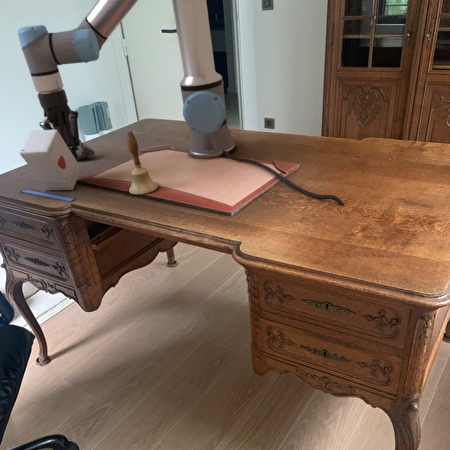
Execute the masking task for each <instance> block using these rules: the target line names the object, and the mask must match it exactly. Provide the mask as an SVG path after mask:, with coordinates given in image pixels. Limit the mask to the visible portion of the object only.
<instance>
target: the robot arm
mask: <svg viewBox="0 0 450 450" xmlns="http://www.w3.org/2000/svg"><path fill="white" fill-rule="evenodd" d="M138 1H139V0H97V1H96V2H95V4H94V5H93V6H92V8H91V9H90V11H89V12H88V13H87V15H85V17H84V19H83V20H82V21H81V22H80V23H79V25H78V26H77V27H75V28H72V29H70V30H64V31H57V32H49V30H48V29H47V27H46V26H45V25H44V24H36V25H29V26H23V27H19V29H18V30H17V36H18V39H19V43H20V48H21V51H22V53H23V57H24V59H25V63H26V64H27V68H28V70H29V74H30V77H31V79H32V82H33V86H34V89H35V92H37V99H38V101H39V104H40V107H41V108H42V110H43V117H44V118H43V120H42V121H40V122H39V124H38V125H39V127H41V128H42V130H57V131H58V132H59V134H60V135H61V137H62V139H63V140H64V142H65V143H66V145H67V146H68V148H69V150H70V151H71V153H72V154H73V156H74V157H75V159H76V161H77V162H78V161H79V160H78V156H77V153H76V151H77V150H78V148H77V147H78V146H80V141H79V139H80V131H79V121H78V119H79V111H77V110H73V109H71V107H70V106H69V104H68V103H69V99H68V96H67V93H66V89H64V82H63V79H62V76H61V74H60V69H59V66H63V65H71V64H83V63H85V64H87V63H90V62H96V61H98V60H99V58H100V51H101V50H102V47H103V46H104V44H105V43H106V42H107V41H108V39H109V38H110V37H111V35H112V34H113V32H114V31H115V30H116V29H117V27H118V26H119V25H120V24H121V23H122V22H123V20H124V19H125V17H126V16H127V15H128V14H129V13H130V12H131V10H132V9H133V8H134V6H135V5H136V4H137V2H138ZM171 4H172V9H173V10H172V11H173V16H174V22H175V29H176V35H177V39H178V41H177V42H178V47H179V53H180V59H181V64H182V70H183V71H182V72H183V77H182V78H181V80H180V82H179V86H180V93H181V100H182V103H183V106H182V116H183V119H184V121H185V123H186V125H187V126H188V128H190V129H191V131H190V132H191V133H190V139H189V145H188V151H189V153H188V154H189V156H190V157H192V158H195V159H203V160H204V159H207V160H208V159H217V158H222V157H225V156H227V157H228V158H229V159H231V160H232V161H235V162H242V163H247V164H252V165H254V166H257V167H259V168H262V169H264V170H266V171H267V172H269V173H271V174H272V175H274V176H275V177H276V178H278V179H279V180H281V181H282V182H283V183H284V184H286V185H287V186H289V187H290V188H292V189H294V190H296V191H297V192H299V193H302V194H303V195H306V196H308V197H309V198H310V197H311V198H314V199H317V200H332V201H334V202H336V204H338V206H340V207H343V206H345V204H344V203H343V201H342V200H341V199H340V197H338V196H336V195H334V194H318V193H314V192H312V191H309V190H307V189H304V188H302V187H300V186H298V185H296V184H295V183H293V182H291V181H290V180H289V179H287V178H286V177H285V176H283V175H282V174H280V173H279V172H278V171H276V170H274V169H273V168H272V167H269V166H267V164H263V163H261V162H259V161H257V160H252V159H250V158H243V157H238V156H234V155H232V154H231V153H233V152H234V151H235V150H236V143H235V141H234V139H233V137H232V134H231V131H230V128H229V126H228V121H227V120H228V119H227V109H226V108H227V107H226V99H225V89H224V85H225V84H224V80H223V76H222V75H221V74H220V73H218V72H217V71H216V66H215V60H214V59H215V58H214V52H213V43H212V36H211V28H210V21H209V11H208V5H207V0H171ZM81 171H82V170H81ZM81 171H80V173H81Z"/></svg>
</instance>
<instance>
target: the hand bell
mask: <svg viewBox="0 0 450 450" xmlns="http://www.w3.org/2000/svg"><path fill="white" fill-rule="evenodd" d="M126 143H127V147H128V149H129V152H130V154H131V156H132V159H133V165H134V169H133V170H132V171H131V185H130V187H129V189H128V191H129V192H128V193H129V194H130V195H134V196H135V195H136V196H140V195H141V196H142V195H147V194H150V193H152V192H154V191H156V190H157V189H158V187H159V185H158V183H157V182H155V181H154V180H153V179H152V178H151V176H150V174H149V171H148V169H147V168H146V167H143V166H142V164H141V161H140V156H139V144H138V141H137V138H136V136H135V134H134V133H133V131H132V130H129V131H127V133H126Z"/></svg>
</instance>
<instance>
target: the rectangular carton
mask: <svg viewBox="0 0 450 450" xmlns="http://www.w3.org/2000/svg"><path fill="white" fill-rule="evenodd" d="M18 154H19V155H20V156H21V157H22V159H23V160H24V161H25V163H26V164H27V166H28V167H29V168H30V169H31V171H32V172H33V173H34V175H35V176H36V177H37V179H38V180H39V181H40V182H41V185H42V186H43V187H44V188H45V189H46V191H74V188H75V186H76V183H77V181H78V178H79V176H80V174H81V172H80V171H82V167H81V165H80V164H79V162H78V160H77V161H76V159H75V157H74V156H73V154H72V153H71V151H70V150H69V148H68V146H67V145H66V143H65V142H64V140H63V139H62V137H61V135H60V134H59V132H58V131H57V130H44V129H39V130H38V129H37V130H36V129H35V130H30V131H29V133H28V135H27V137H26V138H25V140H24V142H23V144H22V147H21V149H20V150H19V153H18Z"/></svg>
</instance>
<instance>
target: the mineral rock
mask: <svg viewBox="0 0 450 450" xmlns="http://www.w3.org/2000/svg"><path fill="white" fill-rule="evenodd" d="M79 141H80V146H78V147H77V148H78V150H77V151H76V153H77V156H78V160H77V161H79V160H81V159H84V158H88V157H91V156H94V155H95V154H96V152H95V150H93V149H92V148H91V147H90V146H89V145H88V144H86V143H84V142H83V141H82V140H81V139H80V138H79Z"/></svg>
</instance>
